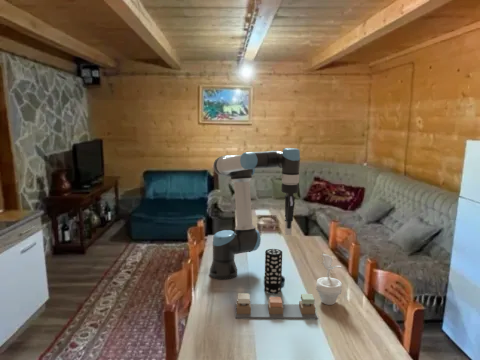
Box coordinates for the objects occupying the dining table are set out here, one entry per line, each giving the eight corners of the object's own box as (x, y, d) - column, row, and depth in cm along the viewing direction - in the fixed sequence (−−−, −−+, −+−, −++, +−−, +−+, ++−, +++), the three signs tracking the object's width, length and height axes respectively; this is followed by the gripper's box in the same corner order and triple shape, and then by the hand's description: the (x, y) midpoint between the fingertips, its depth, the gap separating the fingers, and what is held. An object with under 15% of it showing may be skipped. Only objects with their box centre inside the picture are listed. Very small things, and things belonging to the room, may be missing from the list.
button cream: (237, 304, 164) (238, 293, 163) (249, 304, 164) (249, 293, 163) (238, 310, 159) (238, 299, 158) (249, 310, 159) (249, 299, 158)
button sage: (300, 304, 164) (300, 293, 163) (311, 304, 164) (312, 294, 163) (302, 310, 159) (303, 299, 158) (314, 310, 159) (314, 299, 158)
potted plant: (310, 298, 175) (312, 248, 170) (330, 294, 179) (333, 245, 175) (326, 311, 163) (329, 257, 159) (347, 306, 168) (351, 254, 164)
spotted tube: (271, 284, 188) (272, 247, 185) (284, 290, 182) (285, 252, 179) (260, 289, 183) (261, 251, 179) (273, 295, 177) (274, 256, 173)
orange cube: (269, 307, 164) (269, 296, 163) (280, 307, 164) (280, 296, 163) (270, 313, 159) (270, 302, 158) (281, 313, 159) (282, 302, 158)
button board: (235, 305, 167) (235, 297, 166) (312, 306, 168) (312, 298, 167) (235, 318, 156) (235, 310, 155) (317, 319, 157) (318, 310, 156)
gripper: (279, 180, 169) (278, 230, 173) (283, 185, 156) (281, 239, 160) (296, 180, 169) (294, 230, 173) (301, 186, 156) (298, 239, 160)
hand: (288, 234), depth 166 cm, fingers closed
